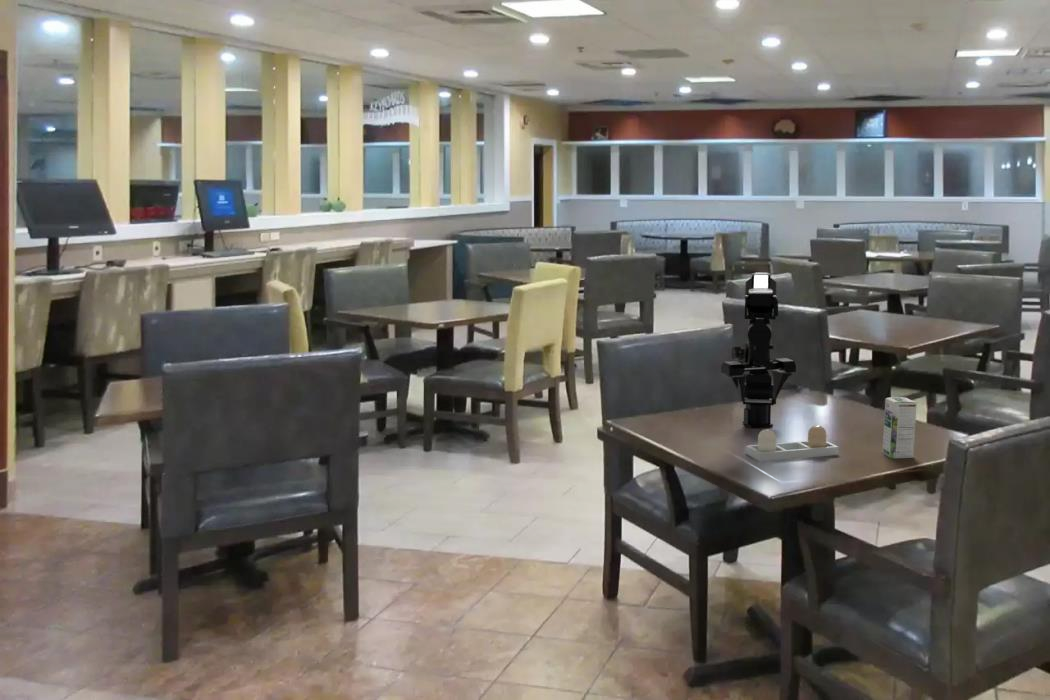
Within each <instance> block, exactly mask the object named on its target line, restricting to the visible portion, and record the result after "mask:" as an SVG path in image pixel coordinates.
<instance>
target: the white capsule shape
mask: <svg viewBox="0 0 1050 700" xmlns="http://www.w3.org/2000/svg"><path fill="white" fill-rule="evenodd" d="M776 443H777V434H776V433H775V431H774V430H772V429H768V428H765V429H762V430H760V432H759V433H758V436H757V445H758V451H760V452H770V451H776Z"/></svg>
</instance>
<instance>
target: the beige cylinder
mask: <svg viewBox="0 0 1050 700" xmlns="http://www.w3.org/2000/svg"><path fill="white" fill-rule="evenodd" d="M807 441H808V446H809V447H811V448H819V447H826V441H827V430H826V429H825V427H823V426H822V425H818V424H816V425H813V426H811V427H810V428H809V429H808V432H807Z"/></svg>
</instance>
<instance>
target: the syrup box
mask: <svg viewBox="0 0 1050 700" xmlns="http://www.w3.org/2000/svg"><path fill="white" fill-rule="evenodd" d="M884 402H885V406H884V421H883V438H882V439H883V440H882V453H883V454H884V455H886V457H888V458H890V459H904V458H905V459H906V458H907V459H908V458H910V459H911V458H914V454H915V453H914V449H915V434H916V420H917V419H916V418H917V403H918V402H917V401H914V400H912V399H910V398H908V397H902V396H891V397H886V398H885V401H884Z"/></svg>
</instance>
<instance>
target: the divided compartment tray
mask: <svg viewBox="0 0 1050 700" xmlns="http://www.w3.org/2000/svg"><path fill="white" fill-rule="evenodd" d="M839 449H840V448H839V446H838V445H836V444H834V443H831V442H829V441H827V440H826V447H819V448H811V447H809V446H808V440H800V441H797V440H796V441H787V442H776V451H770V452H760V451H758V444H751V445H750V444H749V445H746V446H745V454H746V455H747V456H749V457H751V458H753V459H754V460H756V461H758V462H769V461H781V460H793V459H794V460H795V459H804V458H816V457H828V456H831V457H832V456H838V455H839Z"/></svg>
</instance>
